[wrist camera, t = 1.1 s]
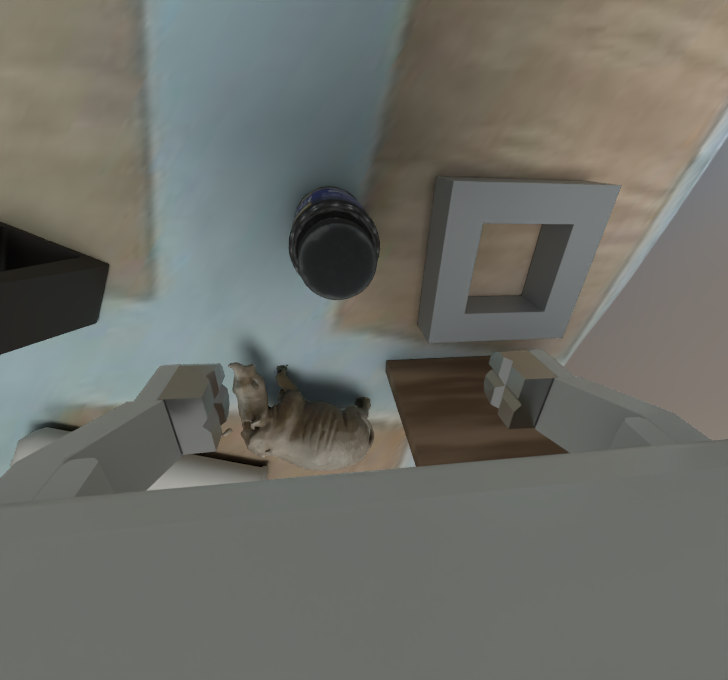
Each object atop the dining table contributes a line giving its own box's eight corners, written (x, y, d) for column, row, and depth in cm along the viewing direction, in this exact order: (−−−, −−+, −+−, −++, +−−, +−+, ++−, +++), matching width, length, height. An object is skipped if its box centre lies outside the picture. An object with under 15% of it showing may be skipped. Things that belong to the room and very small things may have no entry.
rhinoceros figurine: (358, 462, 41) (296, 542, 27) (280, 389, 44) (186, 428, 29) (395, 416, 39) (349, 477, 25) (311, 344, 41) (226, 361, 27)
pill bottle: (297, 179, 27) (288, 197, 17) (370, 192, 28) (400, 216, 18) (292, 254, 30) (281, 305, 20) (358, 263, 31) (378, 315, 21)
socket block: (436, 176, 28) (453, 180, 24) (586, 180, 30) (621, 185, 26) (417, 323, 35) (428, 343, 31) (539, 320, 37) (562, 337, 33)
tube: (5, 482, 34) (251, 516, 41) (-12, 463, 30) (261, 505, 38) (41, 433, 37) (261, 473, 45) (29, 412, 34) (271, 459, 41)
